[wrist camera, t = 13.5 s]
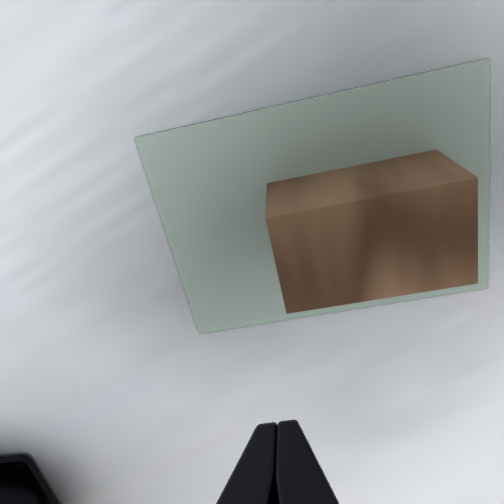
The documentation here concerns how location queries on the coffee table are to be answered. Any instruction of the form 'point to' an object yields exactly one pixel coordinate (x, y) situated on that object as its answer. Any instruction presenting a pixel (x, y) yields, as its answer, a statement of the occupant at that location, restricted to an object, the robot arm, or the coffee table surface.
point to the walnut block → (374, 231)
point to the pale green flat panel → (296, 165)
